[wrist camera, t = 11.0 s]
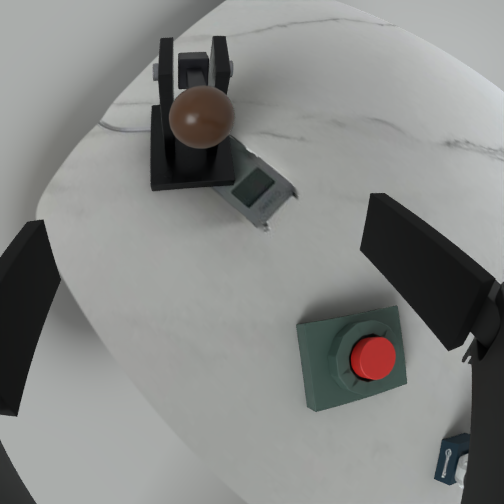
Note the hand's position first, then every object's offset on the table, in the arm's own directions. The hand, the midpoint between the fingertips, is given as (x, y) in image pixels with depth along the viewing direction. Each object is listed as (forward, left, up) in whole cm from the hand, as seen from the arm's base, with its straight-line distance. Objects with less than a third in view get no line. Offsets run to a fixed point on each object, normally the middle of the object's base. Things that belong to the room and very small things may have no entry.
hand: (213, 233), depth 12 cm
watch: (+26, -25, -17) cm, 40 cm away
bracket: (0, +15, -17) cm, 23 cm away
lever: (0, +10, -5) cm, 11 cm away
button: (+13, -8, -13) cm, 20 cm away
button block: (+13, -8, -17) cm, 23 cm away
